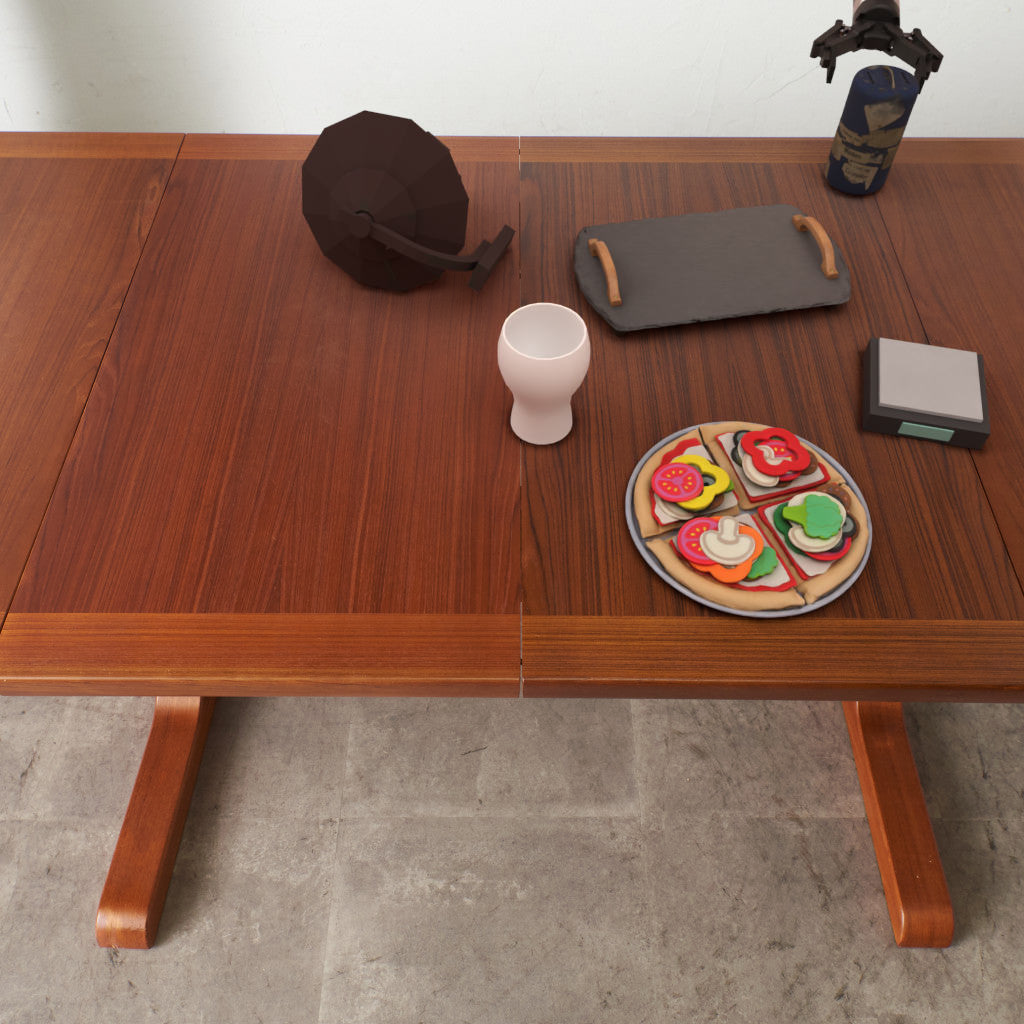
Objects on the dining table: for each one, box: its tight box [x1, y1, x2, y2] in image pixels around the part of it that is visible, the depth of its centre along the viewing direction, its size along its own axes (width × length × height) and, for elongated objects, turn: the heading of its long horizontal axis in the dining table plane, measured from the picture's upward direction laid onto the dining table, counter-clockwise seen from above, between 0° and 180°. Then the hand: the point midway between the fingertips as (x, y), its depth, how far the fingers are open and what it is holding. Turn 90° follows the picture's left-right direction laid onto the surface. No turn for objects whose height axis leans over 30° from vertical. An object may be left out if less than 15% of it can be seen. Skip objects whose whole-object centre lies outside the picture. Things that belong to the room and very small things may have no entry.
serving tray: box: [572, 203, 852, 338], centre depth 127 cm, size 39×23×6 cm, turn 101°
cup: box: [497, 302, 591, 445], centre depth 106 cm, size 11×11×15 cm
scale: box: [862, 337, 991, 451], centre depth 113 cm, size 14×14×4 cm
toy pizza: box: [624, 420, 873, 619], centre depth 101 cm, size 28×28×4 cm
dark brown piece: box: [301, 109, 517, 294], centre depth 126 cm, size 24×29×30 cm
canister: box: [824, 64, 919, 196], centre depth 136 cm, size 10×10×18 cm
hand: (875, 80), depth 140 cm, fingers open, 13 cm apart
